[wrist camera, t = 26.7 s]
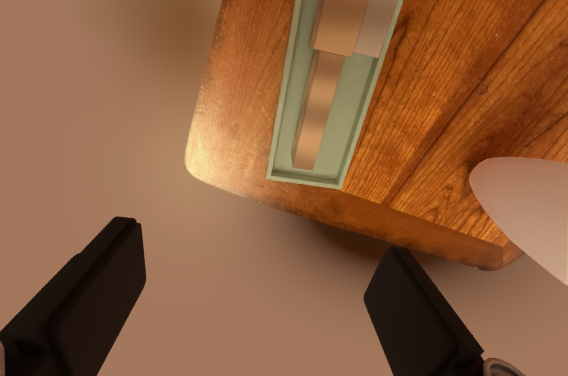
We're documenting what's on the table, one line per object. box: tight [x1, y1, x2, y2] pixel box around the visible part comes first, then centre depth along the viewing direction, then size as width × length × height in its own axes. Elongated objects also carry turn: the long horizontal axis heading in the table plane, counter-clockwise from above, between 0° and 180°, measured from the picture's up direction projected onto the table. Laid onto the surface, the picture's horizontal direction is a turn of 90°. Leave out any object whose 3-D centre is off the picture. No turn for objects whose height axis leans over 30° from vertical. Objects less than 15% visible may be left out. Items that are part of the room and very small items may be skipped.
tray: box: [266, 0, 403, 190], centre depth 28 cm, size 10×21×2 cm, turn 170°
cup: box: [469, 157, 568, 286], centre depth 25 cm, size 10×10×22 cm
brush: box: [291, 0, 398, 171], centre depth 26 cm, size 18×6×4 cm, turn 170°
